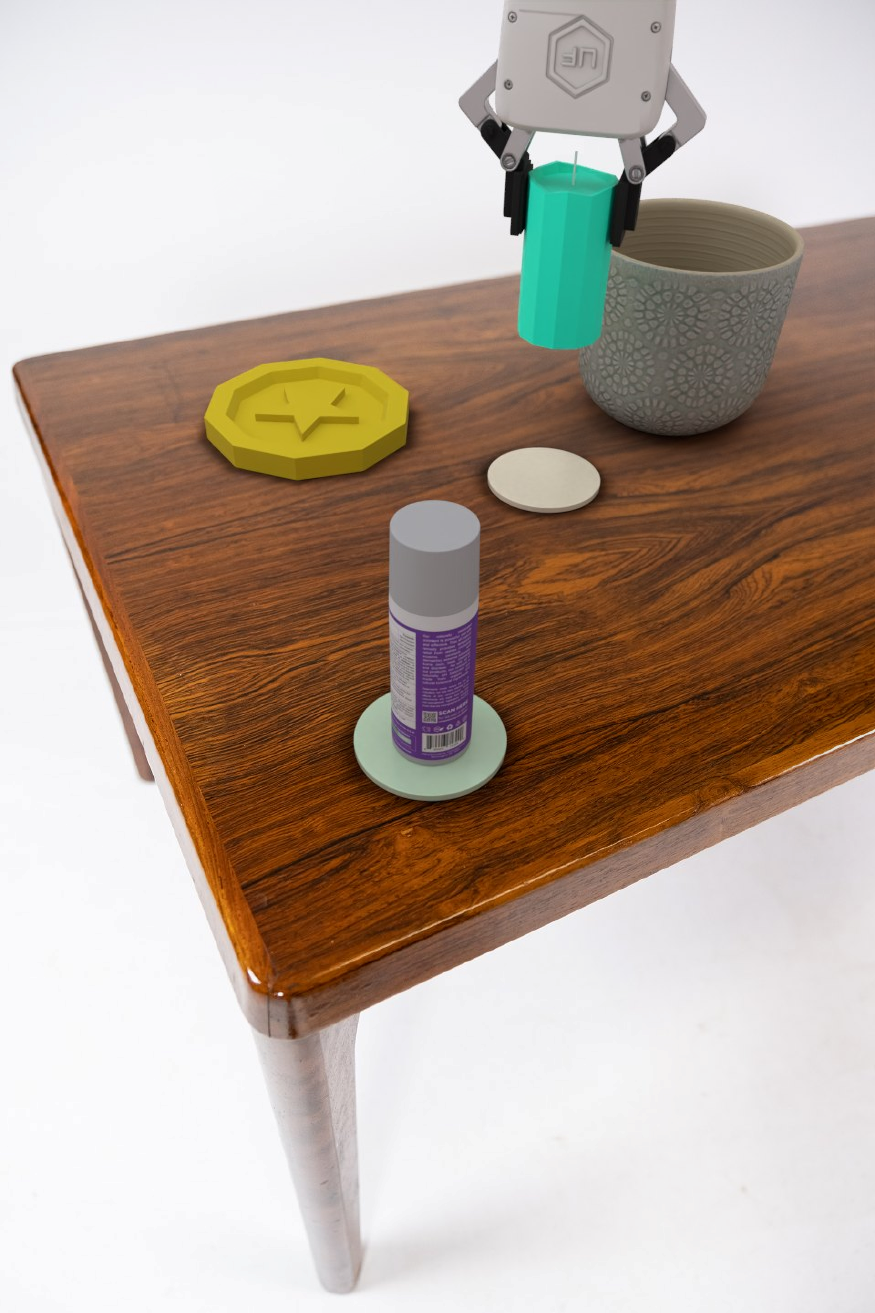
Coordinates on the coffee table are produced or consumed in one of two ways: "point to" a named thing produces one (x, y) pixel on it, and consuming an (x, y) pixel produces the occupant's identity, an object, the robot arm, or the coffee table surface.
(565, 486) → the far coaster
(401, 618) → the container
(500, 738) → the near coaster
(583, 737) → the coffee table surface
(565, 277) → the candle
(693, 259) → the planter
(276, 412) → the decorative disc
